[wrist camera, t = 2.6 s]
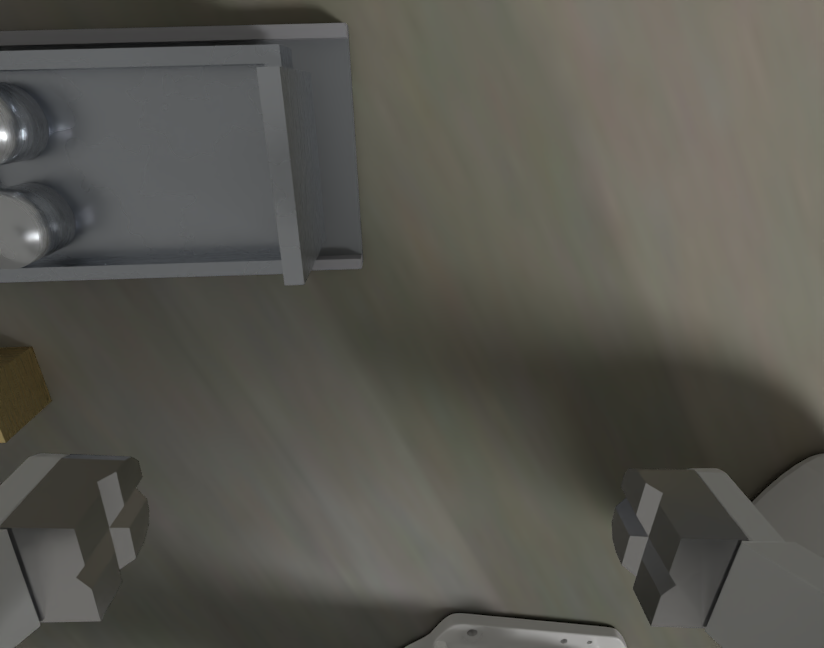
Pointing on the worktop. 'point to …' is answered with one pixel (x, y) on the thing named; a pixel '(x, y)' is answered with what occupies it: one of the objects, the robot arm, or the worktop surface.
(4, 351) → the wooden block
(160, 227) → the long grey tray
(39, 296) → the worktop surface
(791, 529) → the soap bottle
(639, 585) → the robot arm
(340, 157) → the track
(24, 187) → the steel puck
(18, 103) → the steel puck
